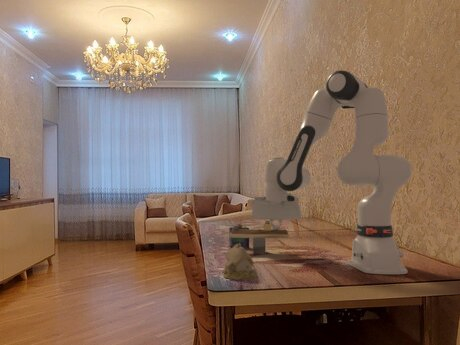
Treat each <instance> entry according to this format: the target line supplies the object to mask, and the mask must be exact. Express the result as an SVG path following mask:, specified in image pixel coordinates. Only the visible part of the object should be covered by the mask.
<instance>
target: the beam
mask: <svg viewBox="0 0 460 345" xmlns="http://www.w3.org/2000/svg"><path fill="white" fill-rule="evenodd" d="M231 227H232V231H231V233H230V238H249V239H252V248H253V249H252V253H253V255H258V254H259V255H266V239H289V238H290V234H289V232H288V229H280V230H273V229H271V231H264V229H260V228H258V229H255V228H254V229H250V228H249V229H238V225H232V226H231Z"/></svg>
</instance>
